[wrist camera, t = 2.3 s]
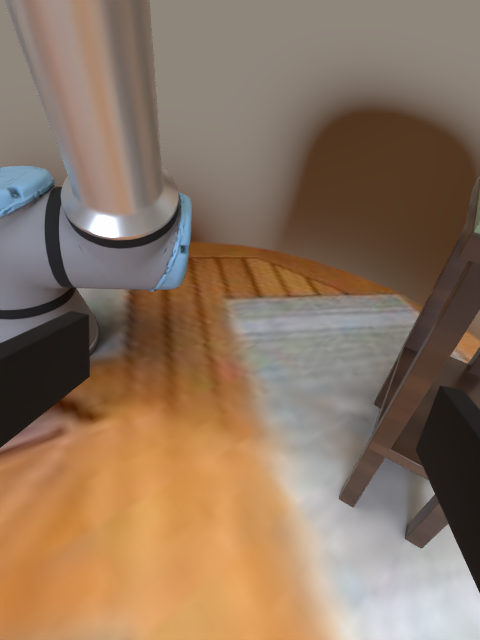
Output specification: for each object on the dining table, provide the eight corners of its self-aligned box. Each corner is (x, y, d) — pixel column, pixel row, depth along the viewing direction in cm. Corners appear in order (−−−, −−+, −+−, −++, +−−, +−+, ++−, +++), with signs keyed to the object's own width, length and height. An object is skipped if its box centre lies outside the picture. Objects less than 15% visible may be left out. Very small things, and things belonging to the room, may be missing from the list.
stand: (429, 560, 32) (729, 301, 15) (329, 499, 36) (471, 232, 18) (447, 426, 45) (619, 201, 27) (372, 391, 49) (480, 172, 31)
